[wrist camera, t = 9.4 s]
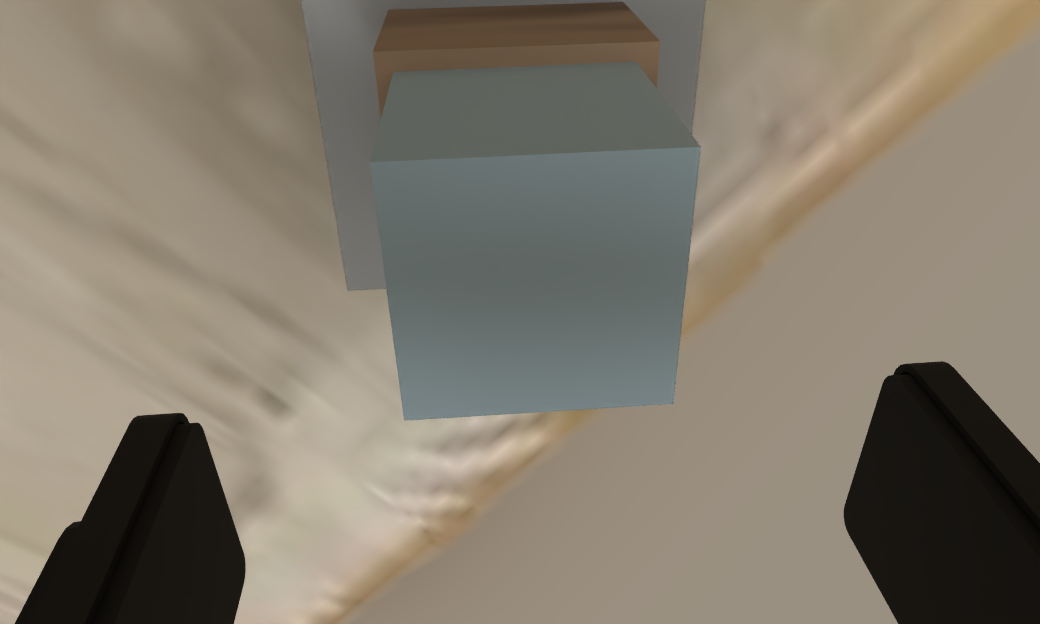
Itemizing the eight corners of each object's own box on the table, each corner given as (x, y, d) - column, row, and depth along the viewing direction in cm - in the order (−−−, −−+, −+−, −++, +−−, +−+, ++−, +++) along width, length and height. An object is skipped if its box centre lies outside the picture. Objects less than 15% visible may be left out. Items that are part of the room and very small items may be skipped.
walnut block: (388, 9, 23) (372, 51, 19) (623, 1, 23) (660, 41, 19) (410, 224, 27) (402, 299, 22) (612, 214, 27) (641, 287, 23)
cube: (393, 71, 19) (369, 162, 14) (636, 61, 19) (700, 146, 14) (416, 283, 22) (404, 420, 17) (624, 272, 22) (673, 403, 17)
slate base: (300, -90, 23) (287, -83, 21) (696, -101, 24) (715, -95, 22) (353, 263, 29) (347, 290, 28) (665, 248, 30) (677, 273, 28)
